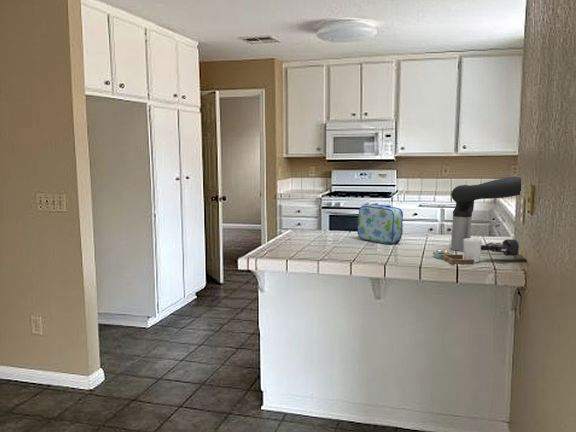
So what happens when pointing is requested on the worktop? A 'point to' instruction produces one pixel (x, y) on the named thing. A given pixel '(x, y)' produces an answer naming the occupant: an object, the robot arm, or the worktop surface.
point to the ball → (439, 251)
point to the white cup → (472, 249)
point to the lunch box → (380, 223)
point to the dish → (440, 255)
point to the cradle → (451, 260)
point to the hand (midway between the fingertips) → (480, 247)
